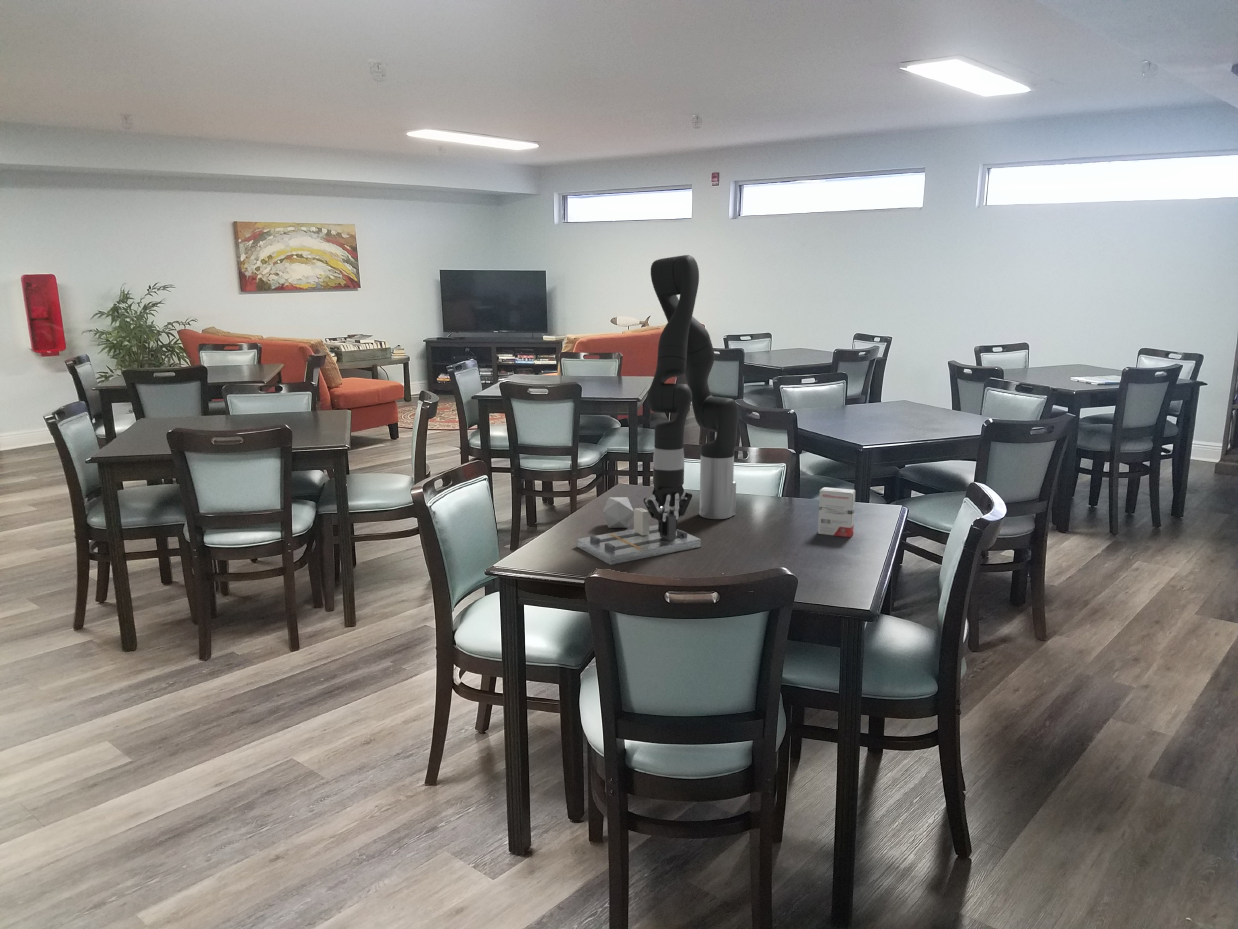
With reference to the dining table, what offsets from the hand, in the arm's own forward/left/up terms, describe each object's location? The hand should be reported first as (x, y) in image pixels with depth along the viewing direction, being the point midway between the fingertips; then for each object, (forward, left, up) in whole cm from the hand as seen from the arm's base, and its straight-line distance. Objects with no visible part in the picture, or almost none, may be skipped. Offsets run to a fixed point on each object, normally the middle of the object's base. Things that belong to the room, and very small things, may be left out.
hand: (667, 534), depth 207 cm
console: (+6, -3, -3) cm, 8 cm away
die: (+1, -21, -3) cm, 22 cm away
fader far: (+3, -7, -1) cm, 8 cm away
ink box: (-44, +14, -3) cm, 46 cm away
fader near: (0, 0, -1) cm, 1 cm away
